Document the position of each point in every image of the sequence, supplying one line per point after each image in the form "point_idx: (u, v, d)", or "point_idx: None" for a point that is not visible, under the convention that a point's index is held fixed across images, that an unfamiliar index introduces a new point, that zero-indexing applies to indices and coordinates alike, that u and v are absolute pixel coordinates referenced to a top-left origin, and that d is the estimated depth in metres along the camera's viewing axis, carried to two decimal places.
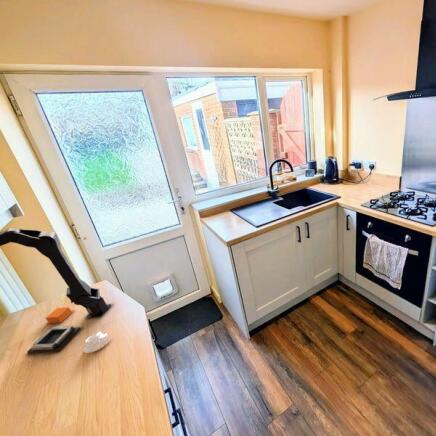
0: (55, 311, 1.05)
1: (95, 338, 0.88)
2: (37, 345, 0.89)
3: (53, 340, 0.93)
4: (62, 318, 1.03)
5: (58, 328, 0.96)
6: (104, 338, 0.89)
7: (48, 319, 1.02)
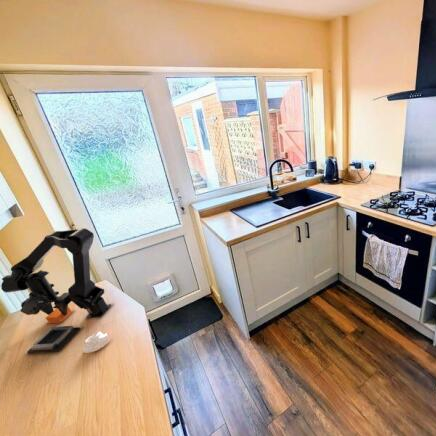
0: (55, 311, 1.05)
1: (95, 338, 0.88)
2: (37, 345, 0.89)
3: (53, 340, 0.93)
4: (62, 318, 1.03)
5: (58, 328, 0.96)
6: (104, 338, 0.89)
7: (48, 319, 1.02)
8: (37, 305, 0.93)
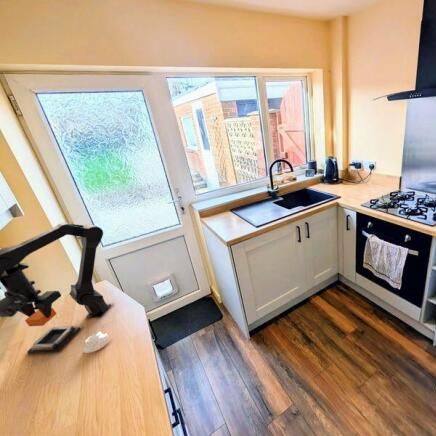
0: (37, 312, 0.91)
1: (95, 338, 0.88)
2: (37, 345, 0.89)
3: (53, 340, 0.93)
4: (44, 321, 0.89)
5: (58, 328, 0.96)
6: (104, 338, 0.89)
7: (28, 322, 0.88)
8: (13, 306, 0.79)
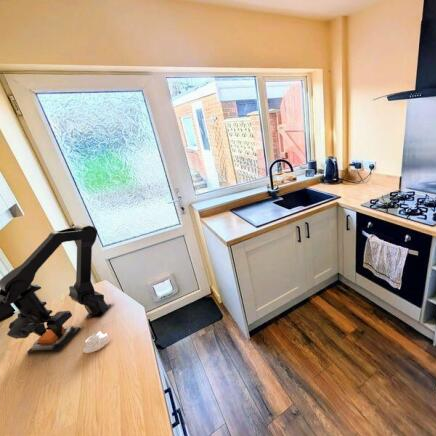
0: (48, 332, 0.93)
1: (95, 338, 0.88)
2: (37, 345, 0.89)
3: None
4: None
5: None
6: (104, 338, 0.89)
7: (40, 341, 0.90)
8: (26, 328, 0.81)
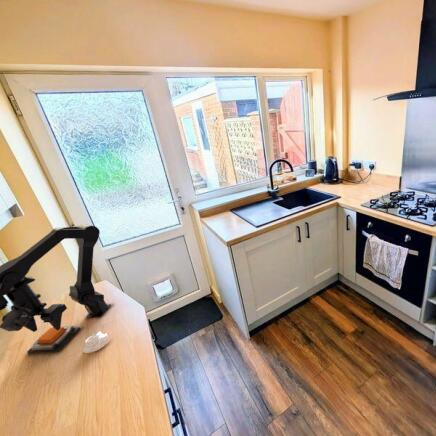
0: (48, 332, 0.93)
1: (95, 338, 0.88)
2: (37, 345, 0.89)
3: None
4: None
5: None
6: (104, 338, 0.89)
7: (40, 341, 0.90)
8: (19, 320, 0.79)
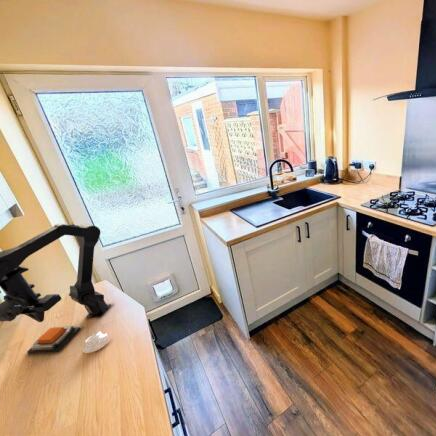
0: (48, 332, 0.93)
1: (95, 338, 0.88)
2: (37, 345, 0.89)
3: None
4: None
5: None
6: (104, 338, 0.89)
7: (40, 341, 0.90)
8: (12, 310, 0.78)
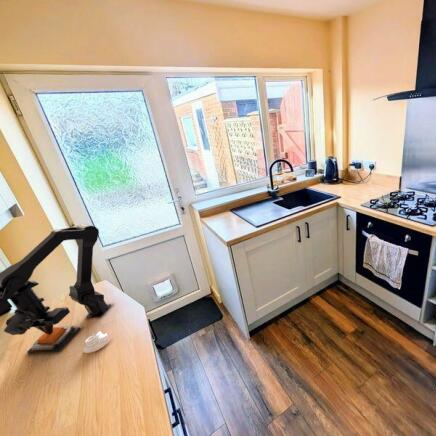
0: None
1: (95, 338, 0.88)
2: (37, 345, 0.89)
3: None
4: None
5: None
6: (104, 338, 0.89)
7: (40, 341, 0.90)
8: (23, 324, 0.80)
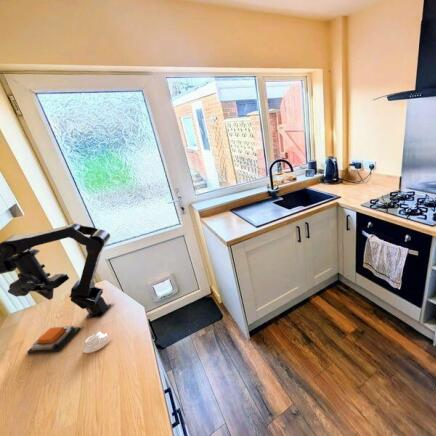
0: (48, 332, 0.93)
1: (95, 338, 0.88)
2: (37, 345, 0.89)
3: None
4: None
5: None
6: (104, 338, 0.89)
7: (40, 341, 0.90)
8: (26, 285, 0.86)
